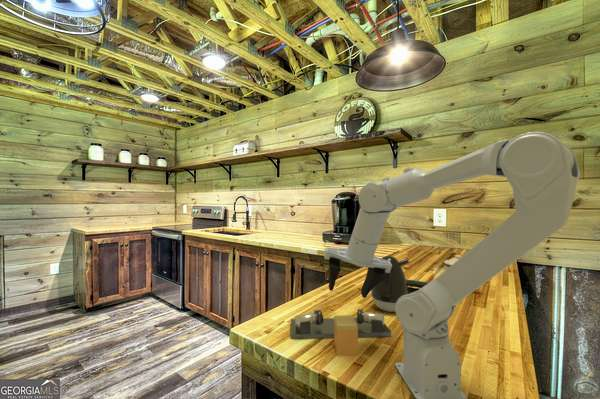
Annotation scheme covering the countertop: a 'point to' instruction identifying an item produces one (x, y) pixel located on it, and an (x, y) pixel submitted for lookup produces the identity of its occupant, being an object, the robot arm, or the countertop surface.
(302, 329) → the shaft
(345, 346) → the block
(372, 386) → the countertop surface
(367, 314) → the shaft
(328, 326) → the base plate
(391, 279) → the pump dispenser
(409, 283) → the can opener
